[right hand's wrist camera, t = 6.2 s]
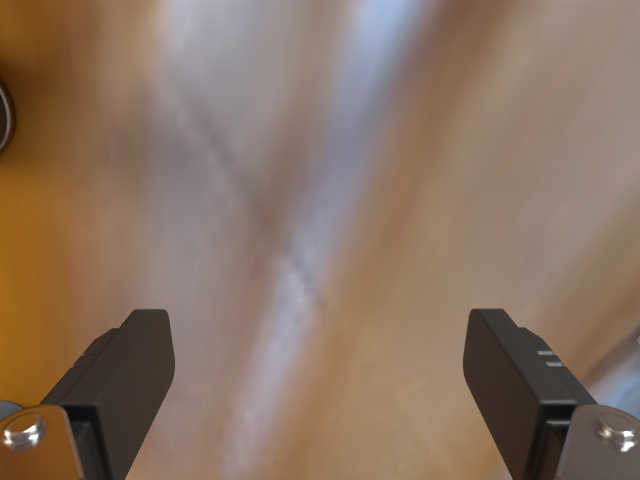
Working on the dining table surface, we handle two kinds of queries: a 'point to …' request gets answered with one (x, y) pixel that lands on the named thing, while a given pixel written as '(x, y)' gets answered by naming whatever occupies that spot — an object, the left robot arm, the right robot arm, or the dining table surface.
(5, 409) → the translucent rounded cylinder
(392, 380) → the dining table surface
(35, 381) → the dining table surface
